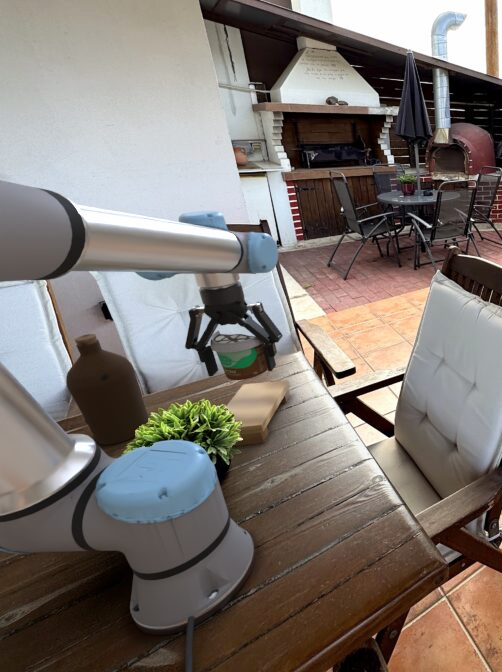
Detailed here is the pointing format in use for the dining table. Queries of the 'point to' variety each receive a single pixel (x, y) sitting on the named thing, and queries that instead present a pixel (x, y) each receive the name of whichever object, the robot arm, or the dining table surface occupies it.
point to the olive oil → (106, 392)
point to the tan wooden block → (257, 408)
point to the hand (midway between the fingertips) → (243, 370)
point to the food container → (239, 355)
